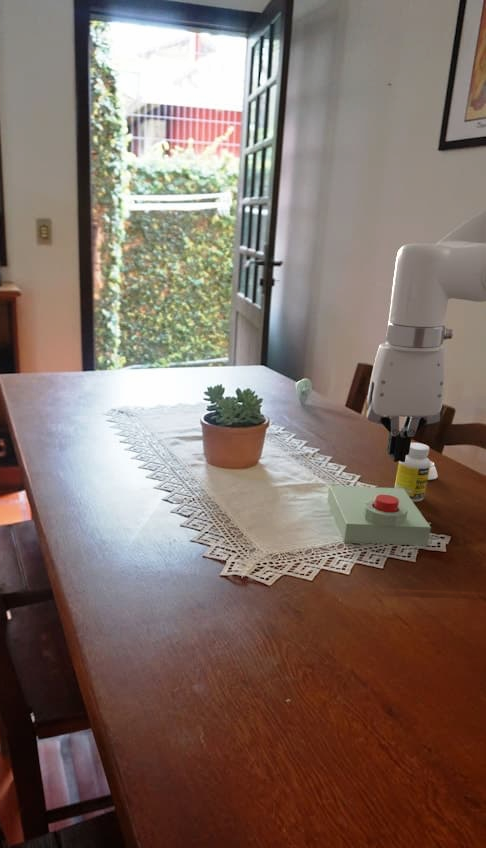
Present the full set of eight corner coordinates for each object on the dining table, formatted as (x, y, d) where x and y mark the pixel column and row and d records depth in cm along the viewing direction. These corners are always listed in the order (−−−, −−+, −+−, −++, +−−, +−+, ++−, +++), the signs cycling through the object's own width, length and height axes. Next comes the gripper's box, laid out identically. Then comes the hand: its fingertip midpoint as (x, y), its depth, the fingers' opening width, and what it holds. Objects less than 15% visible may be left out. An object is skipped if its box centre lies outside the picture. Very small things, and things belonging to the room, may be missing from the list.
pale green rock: (290, 399, 186) (292, 375, 184) (304, 399, 187) (307, 375, 185) (301, 407, 179) (303, 382, 176) (315, 407, 180) (318, 382, 177)
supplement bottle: (415, 505, 121) (424, 452, 117) (387, 496, 124) (396, 445, 120) (429, 497, 124) (438, 446, 121) (402, 489, 128) (410, 439, 124)
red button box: (400, 505, 121) (405, 478, 119) (428, 546, 106) (433, 517, 104) (327, 502, 120) (330, 475, 118) (344, 543, 105) (348, 513, 103)
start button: (394, 505, 108) (395, 494, 108) (400, 514, 105) (401, 503, 104) (371, 504, 108) (373, 494, 108) (376, 513, 105) (378, 503, 104)
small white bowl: (411, 479, 133) (438, 482, 132) (414, 465, 131) (441, 468, 131) (409, 471, 137) (435, 473, 136) (412, 457, 136) (438, 459, 135)
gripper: (457, 333, 100) (438, 452, 107) (356, 331, 100) (343, 450, 107) (476, 342, 93) (454, 468, 100) (367, 340, 93) (352, 466, 100)
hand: (396, 458), depth 104 cm, fingers closed
